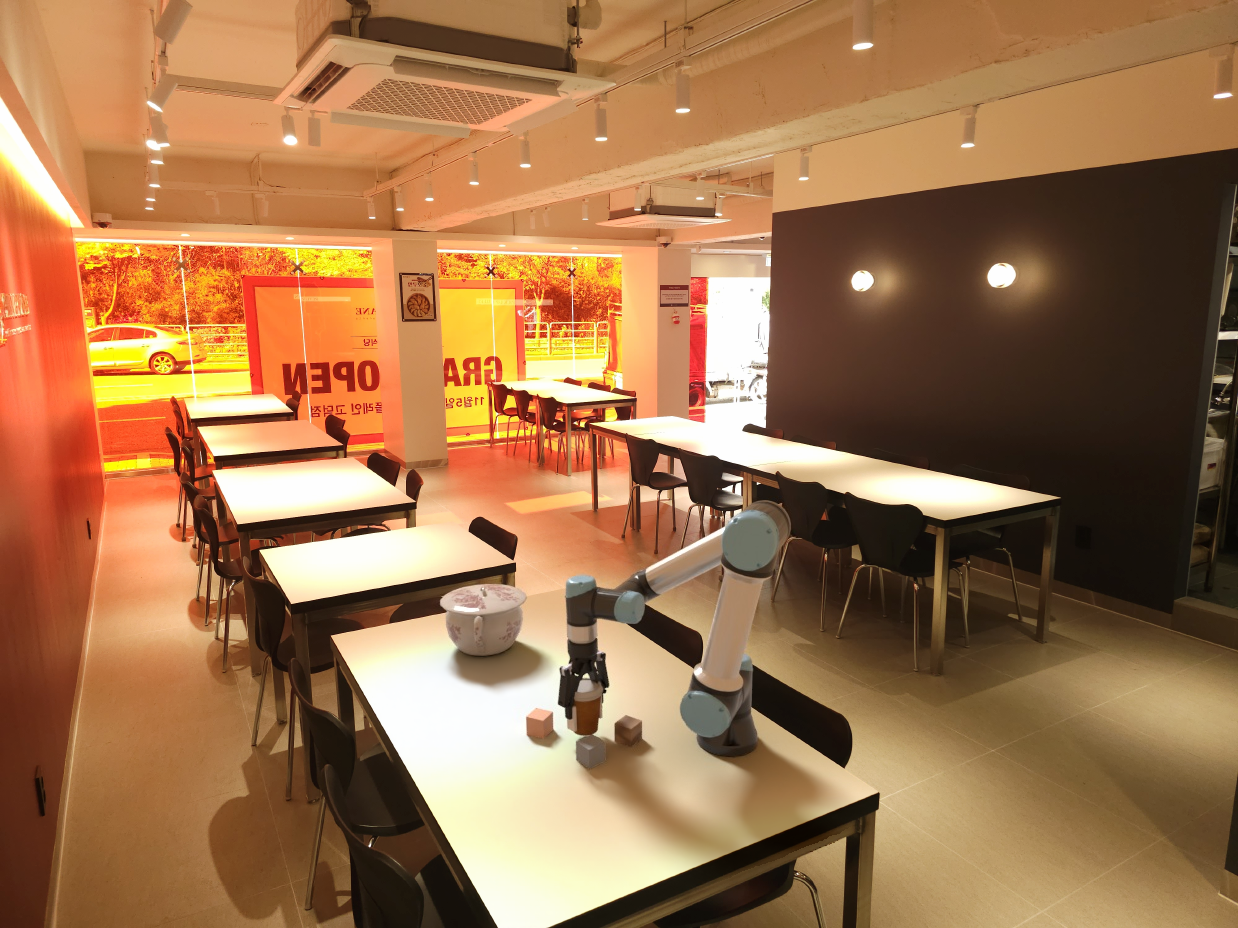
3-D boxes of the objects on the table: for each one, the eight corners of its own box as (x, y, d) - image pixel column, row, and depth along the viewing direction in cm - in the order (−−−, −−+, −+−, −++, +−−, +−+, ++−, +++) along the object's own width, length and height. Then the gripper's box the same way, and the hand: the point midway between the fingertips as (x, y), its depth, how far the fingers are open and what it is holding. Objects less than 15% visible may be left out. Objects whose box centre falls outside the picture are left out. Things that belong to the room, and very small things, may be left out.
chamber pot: (486, 624, 269) (483, 567, 265) (545, 643, 253) (544, 582, 250) (422, 652, 247) (419, 590, 243) (483, 674, 231) (481, 608, 227)
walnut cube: (642, 738, 196) (642, 720, 195) (631, 747, 191) (631, 728, 191) (625, 732, 198) (625, 714, 197) (614, 741, 194) (614, 723, 193)
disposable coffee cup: (599, 740, 190) (598, 695, 188) (562, 737, 192) (560, 692, 190) (607, 721, 199) (606, 677, 197) (572, 718, 201) (570, 675, 199)
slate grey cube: (605, 761, 186) (605, 742, 185) (589, 769, 182) (588, 749, 181) (592, 752, 189) (592, 733, 188) (576, 760, 186) (575, 741, 185)
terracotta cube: (553, 729, 200) (552, 711, 199) (543, 738, 196) (543, 720, 195) (536, 725, 202) (536, 707, 201) (526, 734, 198) (526, 716, 197)
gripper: (602, 621, 201) (604, 703, 205) (539, 646, 187) (543, 733, 191) (622, 629, 196) (624, 712, 200) (560, 655, 181) (563, 744, 185)
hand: (585, 722), depth 195 cm, fingers closed on disposable coffee cup, 8 cm apart
